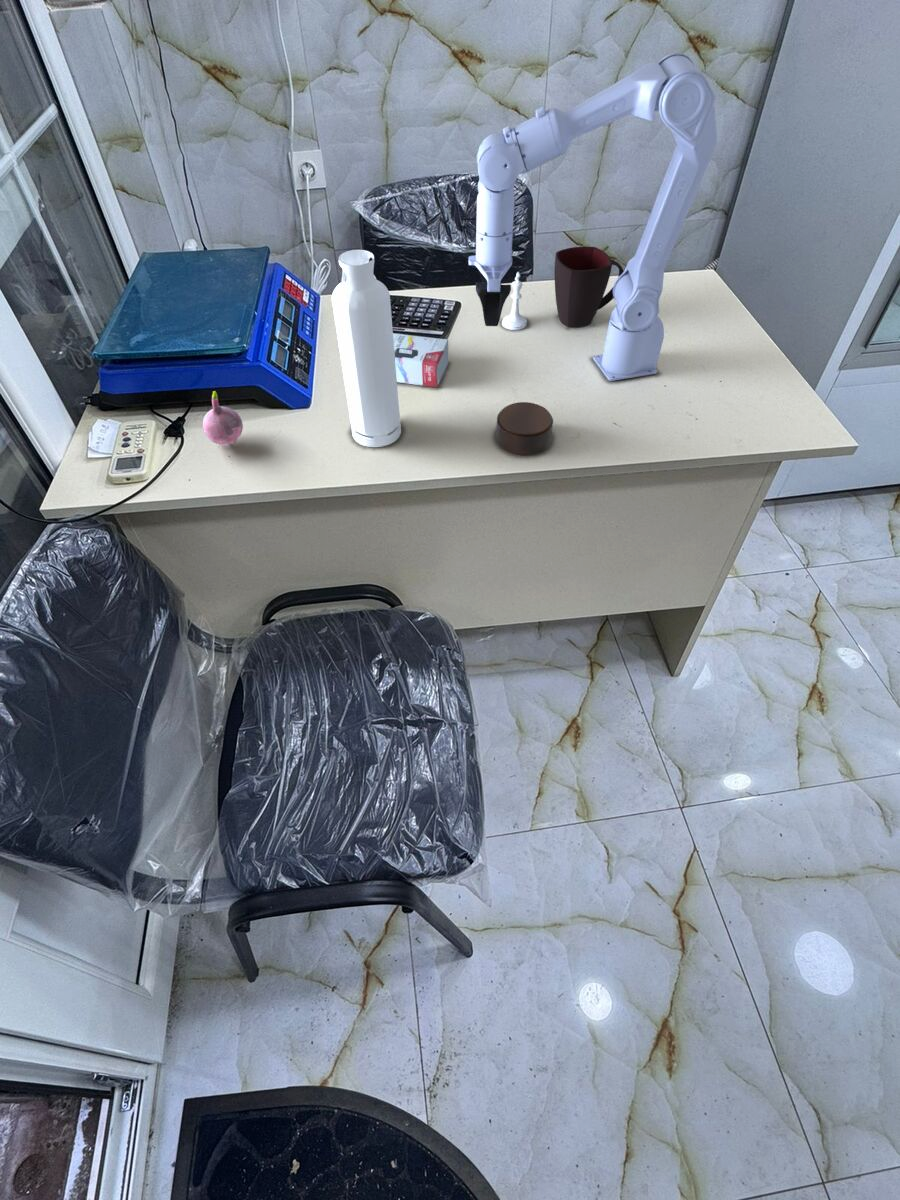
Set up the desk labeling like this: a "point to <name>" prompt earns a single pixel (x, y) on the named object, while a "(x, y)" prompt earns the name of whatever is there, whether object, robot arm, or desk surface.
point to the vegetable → (222, 424)
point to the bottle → (367, 350)
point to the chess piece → (515, 308)
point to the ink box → (420, 359)
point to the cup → (582, 284)
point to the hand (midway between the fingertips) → (491, 313)
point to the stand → (524, 428)
